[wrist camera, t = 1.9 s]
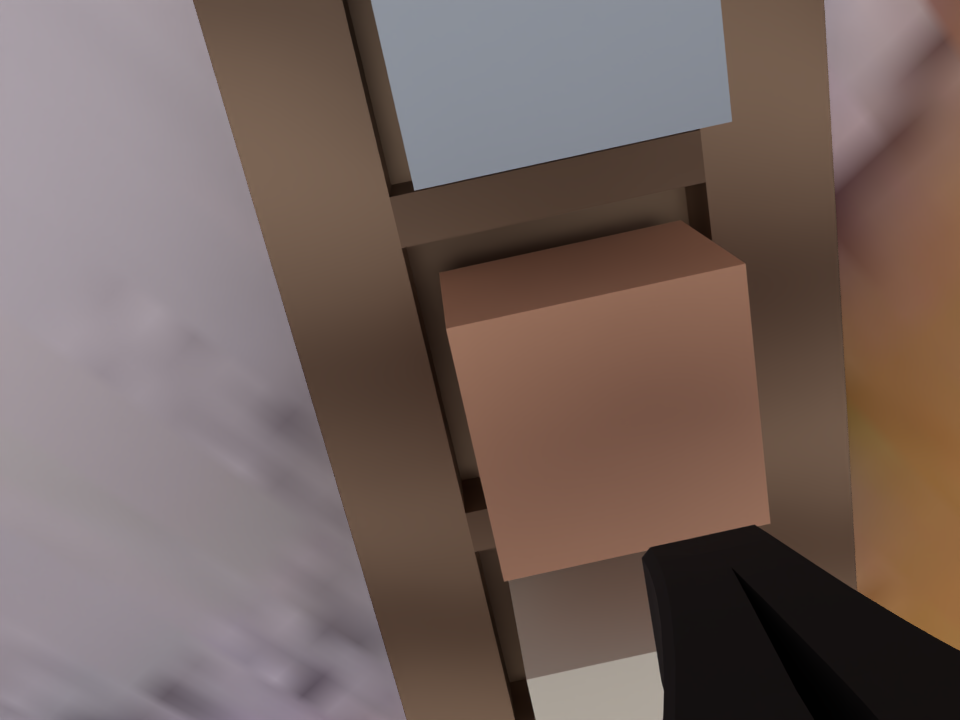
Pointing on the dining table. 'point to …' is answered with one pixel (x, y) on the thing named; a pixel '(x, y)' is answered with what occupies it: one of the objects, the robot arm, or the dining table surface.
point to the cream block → (589, 642)
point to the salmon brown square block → (609, 395)
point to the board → (506, 233)
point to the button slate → (546, 78)
